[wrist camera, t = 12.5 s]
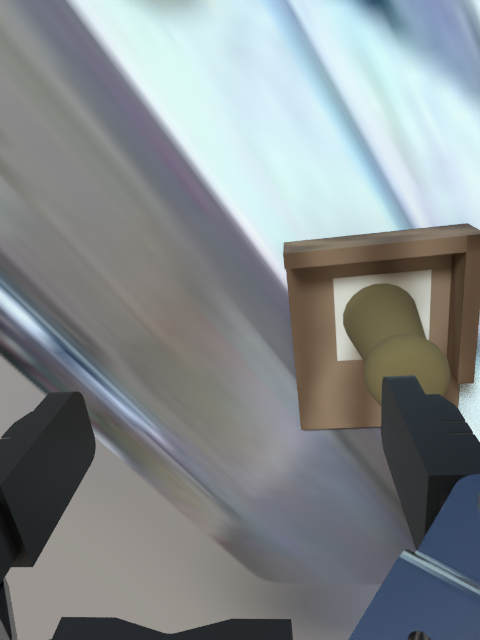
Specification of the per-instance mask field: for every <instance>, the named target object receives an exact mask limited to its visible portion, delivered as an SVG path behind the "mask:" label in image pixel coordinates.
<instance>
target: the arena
mask: <svg viewBox="0 0 480 640" xmlns="http://www.w3.org/2000/svg"><path fill="white" fill-rule="evenodd" d="M283 256H284V266H285V269H286V272H287V283H288V294H289V304H290V315H291V326H292V336H293V347H294V357H295V368H296V379H297V389H298V400H299V411H300V421H301V430H308V429H332V428H356V427H380V426H381V405H379V404H378V403H377V401H376V400H375V399H374V398H373V397H372V396H371V395H370V393H369V391H368V389H367V386H366V383H365V380H364V366H365V362H364V361H363V359H362V357H361V356H360V354H359V353H358V351H357V350H356V348H355V346H354V345H353V343H352V342H351V340H350V338H349V337H348V335H347V333H346V331H345V328H344V326H343V313H344V310H345V307H346V304H347V303H348V302H349V300H350V299H351V298H352V296H353V295H354V294H356V293H357V292H358V291H360V290H361V289H362V288H365V287H367V286H370V285H373V284H382V283H388V284H392V285H396V286H399V287H401V288H402V289H404V290H405V291H407V292H408V293H409V294H410V295H411V297H412V298H413V299H414V301H415V304H416V307H417V310H418V313H419V317H420V320H421V323H422V326H423V330H424V333H425V336H426V339H427V340H429V341H431V342H432V343H434V344H436V345H437V346H438V348H439V349H440V350H441V351H442V353H443V354H444V355H445V357H446V358H447V361H448V364H449V368H450V373H451V375H450V385H449V387H448V389H447V391H446V393H445V395H444V398H446V399H447V400H448V401H450V402H451V403H453V404H454V405H456V407H457V408H458V401H459V386H460V384H465V383H474V373H475V360H476V348H477V336H478V324H479V312H480V230H478V229H477V228H475V227H473V226H471V225H469V224H458V225H449V226H439V227H429V228H420V229H410V230H401V231H391V232H381V233H372V234H362V235H352V236H343V237H333V238H323V239H314V240H304V241H294V242H285V243H284V251H283Z"/></svg>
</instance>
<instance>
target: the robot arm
mask: <svg viewBox="0 0 480 640" xmlns="http://www.w3.org/2000/svg"><path fill="white" fill-rule="evenodd" d="M381 436H382V444H383V449H384V453H385V456H386V459H387V462H388V465H389V468H390V471H391V474H392V477H393V481H394V484H395V487H396V490H397V493H398V496H399V499H400V502H401V505H402V508H403V511H404V514H405V517H406V520H407V523H408V526H409V529H410V532H411V535H412V538H413V541H414V544H415V547H416V550H417V551H416V552H415V553H414V552H412V551H410V550H405V551H403V552H402V553H401V555H400V556H399V557H398V559H397V560H396V562H395V563H394V565H393V567H392V568H391V570H390V572H389V573H388V575H387V577H386V578H385V580H384V582H383V583H382V585H381V586H380V588H379V590H378V592H377V593H376V595H375V596H374V598H373V600H372V601H371V603H370V605H369V606H368V608H367V610H366V611H365V613H364V614H363V616H362V618H361V619H360V621H359V623H358V624H357V626H356V628H355V629H354V631H353V633H352V634H351V636H350V638H349V639H348V640H480V442H479V441H478V439H477V438H476V436H475V435H473V431H472V430H471V428H470V427H469V425H468V424H467V423H465V419H464V418H463V416H462V414H461V413H460V411H459V410H458V408H457V407H456V405H454V404H453V403H451V402H450V401H448V400H447V399H446V398H444V397H443V396H441V395H440V394H427V395H426V394H425V392H424V390H423V389H422V387H421V385H420V383H419V382H418V380H417V378H416V377H415V376H414V375H407V376H387V377H383V380H382V403H381ZM94 454H95V437H94V433H93V430H92V426H91V423H90V419H89V416H88V412H87V408H86V405H85V401H84V398H83V396H82V394H81V393H80V392H77V391H76V392H56V393H50V394H48V395H47V396H46V397H45V398H44V399H43V401H42V402H41V403H40V404H39V405H38V406H37V407H36V409H35V410H34V411H33V412H30V413H29V414H27V415H26V416H24V417H23V418H21V419H20V420H18V421H17V422H15V423H14V424H13V425H12V426H11V427H10V428H9V429H8V430H7V431H6V432H5V434H4V435H3V436H2V439H0V640H17V633H16V628H15V621H14V615H13V609H12V603H11V597H10V591H9V586H8V583H7V581H6V578H5V576H6V574H7V573H8V571H9V569H10V567H33V566H34V564H35V562H36V561H37V559H38V557H39V555H40V553H41V552H42V550H43V548H44V546H45V544H46V543H47V541H48V539H49V537H50V536H51V534H52V532H53V530H54V528H55V527H56V525H57V523H58V521H59V520H60V518H61V516H62V514H63V513H64V511H65V509H66V507H67V506H68V504H69V502H70V500H71V498H72V497H73V495H74V493H75V491H76V490H77V488H78V486H79V484H80V482H81V481H82V479H83V477H84V475H85V473H86V472H87V470H88V468H89V466H90V465H91V463H92V461H93V458H94ZM50 640H293V635H292V624H291V619H229V620H226V621H222V622H218V623H214V624H210V625H206V626H202V627H198V628H194V629H190V630H186V631H183V632H179V633H174V634H166V633H162V632H159V631H156V630H152V629H149V628H146V627H143V626H140V625H137V624H134V623H131V622H127V621H124V620H121V619H118V618H97V617H62V618H61V620H60V622H59V624H58V627H57V629H56V631H55V633H54V636H53V638H52V639H50Z"/></svg>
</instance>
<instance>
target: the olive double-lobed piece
mask: <svg viewBox="0 0 480 640" xmlns="http://www.w3.org/2000/svg"><path fill="white" fill-rule="evenodd" d="M343 326H344V328H345V331H346V333H347V335H348V337H349V338H350V340H351V342H352V343H353V345H354V346H355V348H356V350H357V351H358V353H359V354H360V356H361V357H362V359H363V361H364V362H365V366H364V380H365V383H366V386H367V389H368V391H369V393H370V395H371V396H372V397H373V398H374V399H375V400H376V401H377V403H378V404H379V405H381V403H382V380H383V377H387V376H407V375H414V376H415V377H416V378H417V380H418V382H419V383H420V385H421V387H422V389H423V390H424V392H425V394H426V395H427V394H440V395H441V396H443V397H444V395H445V393H446V391H447V389H448V387H449V385H450V375H451V373H450V368H449V364H448V361H447V358H446V357H445V355H444V354H443V353H442V351H441V350H440V349H439V348H438V346H437V345H436V344H434V343H432V342H431V341H429V340H427V339H426V336H425V333H424V330H423V326H422V323H421V320H420V317H419V313H418V310H417V307H416V304H415V301H414V299H413V298H412V297H411V295H410V294H409V293H408V292H407V291H405V290H404V289H402V288H401V287H399V286H396V285H392V284H388V283H382V284H373V285H370V286H367V287H365V288H362V289H361V290H360V291H358V292H357V293H356V294H354V295H353V296H352V298H351V299H350V300H349V302H348V303H347V304H346V307H345V310H344V313H343Z"/></svg>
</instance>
